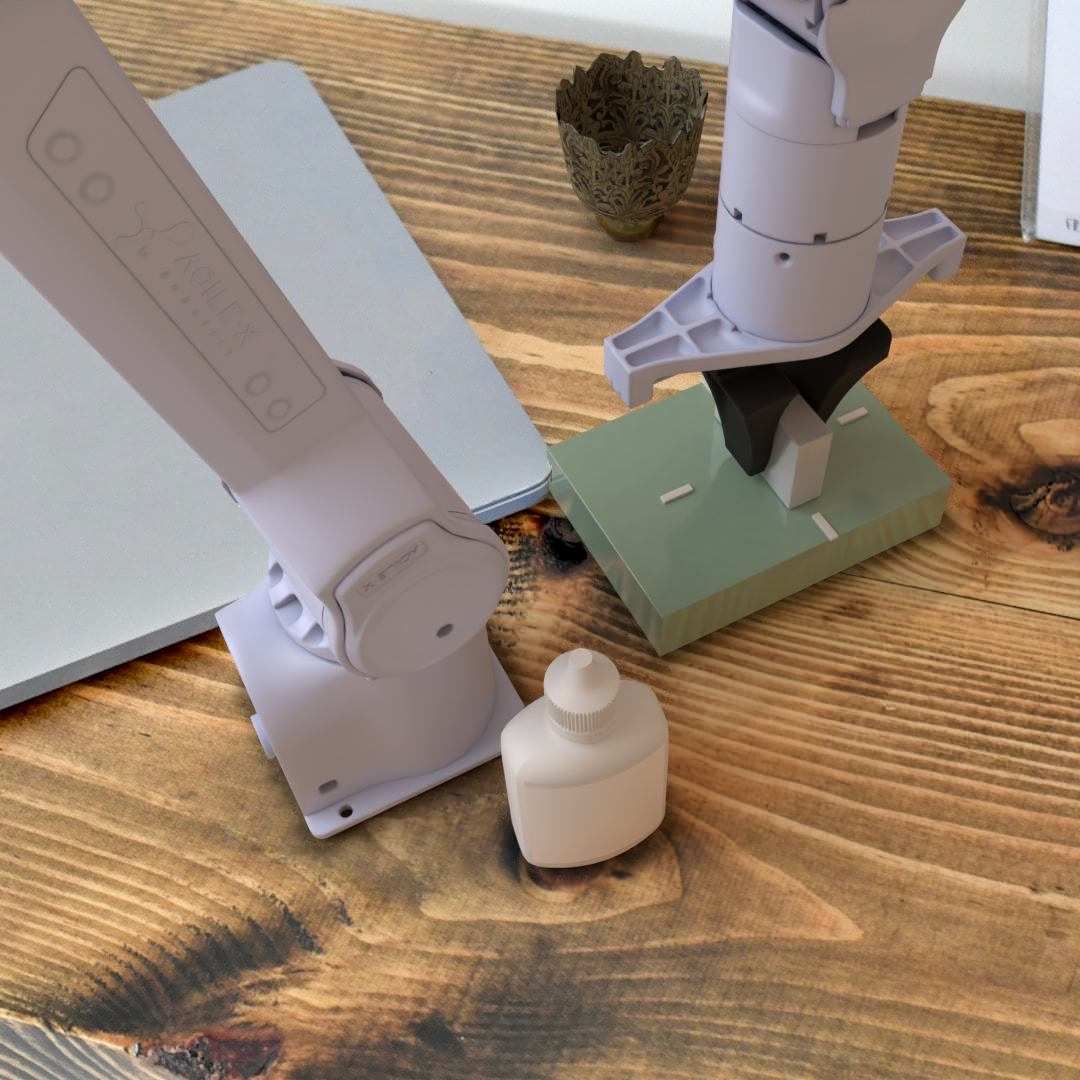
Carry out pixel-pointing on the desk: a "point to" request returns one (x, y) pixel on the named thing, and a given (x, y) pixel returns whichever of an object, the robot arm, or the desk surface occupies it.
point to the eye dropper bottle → (585, 764)
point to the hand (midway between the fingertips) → (767, 448)
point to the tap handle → (798, 454)
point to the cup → (630, 139)
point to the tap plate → (734, 510)
